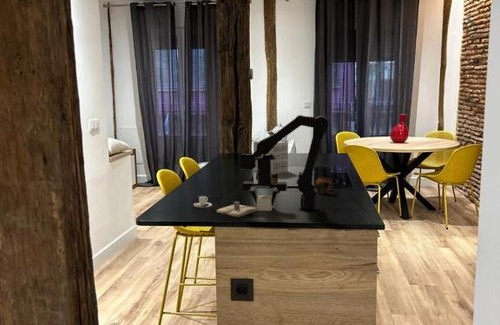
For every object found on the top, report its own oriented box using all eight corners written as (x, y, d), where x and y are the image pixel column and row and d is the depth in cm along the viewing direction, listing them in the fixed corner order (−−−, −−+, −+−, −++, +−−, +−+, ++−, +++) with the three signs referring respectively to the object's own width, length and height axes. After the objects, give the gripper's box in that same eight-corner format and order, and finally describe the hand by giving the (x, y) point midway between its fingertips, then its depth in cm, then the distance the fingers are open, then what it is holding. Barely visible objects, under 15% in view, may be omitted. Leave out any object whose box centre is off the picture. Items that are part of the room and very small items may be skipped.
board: (257, 210, 195) (256, 201, 194) (238, 217, 186) (238, 207, 185) (235, 206, 203) (235, 197, 202) (216, 212, 193) (216, 202, 193)
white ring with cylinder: (195, 209, 200) (195, 200, 199) (189, 205, 207) (189, 196, 206) (214, 206, 203) (214, 197, 203) (208, 202, 210) (208, 194, 210)
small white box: (272, 206, 200) (272, 194, 199) (271, 210, 194) (271, 198, 193) (258, 206, 201) (258, 194, 200) (256, 210, 195) (256, 198, 194)
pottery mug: (308, 192, 226) (311, 177, 229) (322, 199, 231) (326, 183, 233) (323, 191, 216) (327, 174, 218) (339, 197, 220) (342, 181, 222)
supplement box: (253, 170, 282) (252, 141, 279) (268, 167, 291) (268, 139, 288) (272, 174, 269) (272, 143, 266) (288, 171, 278) (288, 141, 275)
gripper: (288, 166, 201) (288, 201, 204) (245, 166, 204) (246, 200, 207) (286, 171, 190) (286, 208, 193) (241, 170, 193) (241, 207, 196)
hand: (264, 205), depth 197 cm, fingers closed on small white box, 6 cm apart
